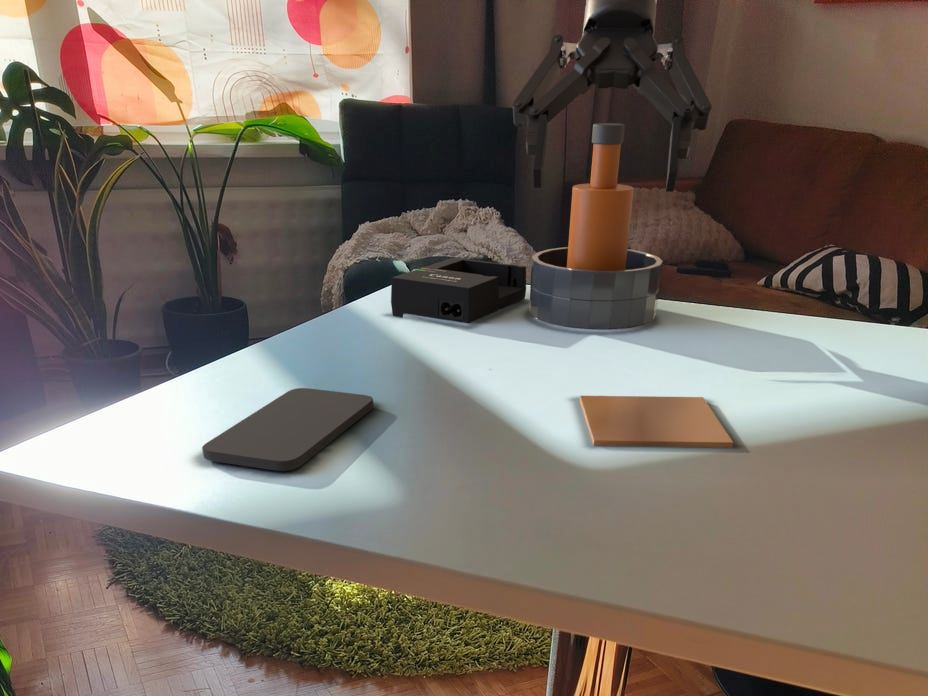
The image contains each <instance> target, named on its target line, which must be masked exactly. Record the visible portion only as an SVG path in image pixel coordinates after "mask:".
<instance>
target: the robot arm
mask: <svg viewBox="0 0 928 696" xmlns="http://www.w3.org/2000/svg"><path fill="white" fill-rule="evenodd" d="M657 2H658V0H585V8H584V17H583V24H582V34H581V38H580V39H579V41H577V43H576V42H575V43H574V42H567V41H566V42H565V41H564V36H563V35H562V34H559V33H558V34H554V36H553V35H552V38H551V42H550V44H549V45H550V46H549V49H548V51H547V54H546V55H545V57H544V58H543V60H542V61H541V62H540V64H539V65H538V67H536V69H535V70H534V72H533V73H532V75H531V76H530V78H529V79H528V80H527V82H526V84H525V85H524V86H523V88H522V89H521V91H520V92H519V93H518V95H517V96H516V97H515V99H514V101H513V102H512V116H513V124H514V126H516V127H518V128H519V127H522V126H525V127H526V128H527V130H526V137H525V149H526V150H525V151H526V153H527V156H534V159H533V160H534V161H533V168H532V169H533V170H532V171H533V172H532V173H533V188H534V189H541V188H542V182H543V175H544V174H543V172H544V166H545V157H546V148H547V138H548V124H549V123H550V122H551V121H552V120H553V119H554V118H555V117H557V115H559V114H560V113H561V112H562V111H563V110H564V109H565V108H567V107H568V106H569V105H570V104H571V103H572V102H573V101H575V99H577V98H578V96H580V95H585V94H586V93H588V92H589V90H590V89H591V88H593V87H594V86H597V89H609V88H616V89H623V90H624V89H625V90H627V89H628V88H629V87H631V86H632V87H633V88H634V89H635V90H636V92H637V93H638V94H639V95H640V96H645V98H647V100H649V102H650V103H651V104H652V105H653V106H654V107H655V108H656V110H657V111H658V112H659V113H660V114H661V115H662V116H663V117H664V118H665V120H666V121H667V122H668V123H669V124H670V125H671V131H670V136H669V137H670V138H669V149H668V158H667V159H668V161H667V172H666V173H667V174H666V183H665V184H666V185H665V192H669V193H672V192H674V190H675V184H676V180H677V175H678V166H679V165H678V164H679V163H678V162H679V160H686V159H687V158H688V157H689V153H690V148H691V142H692V132H693V131H695V130H699V131H704V130H706V129H707V128H708V125H709V122H710V117H711V114H712V107H713V106H712V103H711V101H710V100H709V97H708V95H707V94H706V92H705V90H704V88H703V86H702V84H701V82H700V80H699V78H698V76H697V74H696V72H695V70H694V68H693V66H692V64H691V63H690V61H689V59H688V57H687V55H686V53H685V52H686V51H685V50H686V49H685V39H684V37H683V35H679V34H678V35H675V36H673V37H672V40H671V43H660V44H658V43H657V41H656V39H655V27H656V18H657V17H656V16H657V4H658V3H657ZM571 60H575V61H576V62H575V64H574V66H573V68H572V69H570V71H569V72H568V73H567V74H566V75H564V76H563V77H562V78H561V79H560V80H558V82H556V83H555V84H554V82H555V81H556V79H557V78H558V76H559V74H560V72H561V70H564V69H566V67H567V65H569V62H570V61H571ZM656 60H657V61H660V62H661V63H662V66H664V70H666V71H669V74H670V78H671V80H672V82H673V84H674V86H675V88H674V87H673V86H672V85H671V84H670V83H669V82H668V81H667V80H666V79H665V77H663V75H662V74H661V73H660V72H659V71H658V70H657V68H656V65H655V62H656ZM553 84H554V85H553ZM552 85H553V86H552ZM551 86H552V87H551ZM676 90H677V91H676Z"/></svg>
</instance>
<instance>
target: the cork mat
mask: <svg viewBox="0 0 928 696" xmlns="http://www.w3.org/2000/svg"><path fill="white" fill-rule="evenodd" d="M579 403H580V406H581V410H582V413H583V416H584V420H585V423H586V426H587V429H588V433H589V436H590V440H591V442H592V446H594V447H651V448H652V447H661V448H665V447H667V448H729V449H730V448H733V447H734V441H733V440H732V438H731V437H730V435H729V434H728V432H727V430H726V429H725V428H724V426H723V425H722V423H721V421H720V420H719V419H718V417H717V415H716V414H715V413H714V411H713V410H712V408H711V406H710V405H709V404H708V402H707V400H706V399H705V397H703V396H645V395H642V396H641V395H639V396H638V395H636V396H635V395H580V396H579Z"/></svg>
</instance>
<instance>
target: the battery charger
mask: <svg viewBox="0 0 928 696" xmlns="http://www.w3.org/2000/svg"><path fill="white" fill-rule="evenodd" d="M390 287H391V288H390V305H391V306H390V307H391V311H392V313H391V314H392V317H398V318H403V317H404V314H405V315H412V316H418V317H424V318H431V319H436V320H443V321H450V322H456V323H462V324H471V323H474V322H476V321H479V320H480V319H483V318H485V317H487V316H489V315H492V314H495V313H496V312H498V311H501V310H503V309H505V308H508V307H510V306H512V305H515V304H517V303H519V302H521V301H523V300H525V299H526V293H527V266H526V265H517V264H508V263H500V262H493V261H484V260H476V259H467V258H462V257H461V258H459V257H451V258H448V259H445V260H442V261H439V262H436V263H432V264H429V265H426V266H423V267H420V268H416V269H414V270H410V271H408V272H405V273H402V274H399V275H396V276H392V277H391V284H390Z"/></svg>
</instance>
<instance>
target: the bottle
mask: <svg viewBox="0 0 928 696" xmlns="http://www.w3.org/2000/svg"><path fill="white" fill-rule="evenodd" d="M625 127H626V124H624V123H617V122H616V123H615V122H604V123H603V122H598V123H593V125H592V131H591V133H592V134H591V144H593V145H592V146H593V147H592V159H591V169H590V170H591V171H590V172H591V173H590V183H579V184H574V185H573V186H572V192H571V205H570V218H569V232H568V233H569V234H568V245H567V247H568V258H567V268H571V269H580V270H593V271H618V270H625V266H626V257H627V249H628V247H629V239H630V238H629V237H630V230H631V229H630V227H631V219H632V211H633V203H634V201H633V200H634V191H635V188H634V187H633V186H631V185H627V184H621V183H620V184H619V183H618V178H619V177H618V176H619V167H620V156H621V146H622V144H624V137H625Z"/></svg>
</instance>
